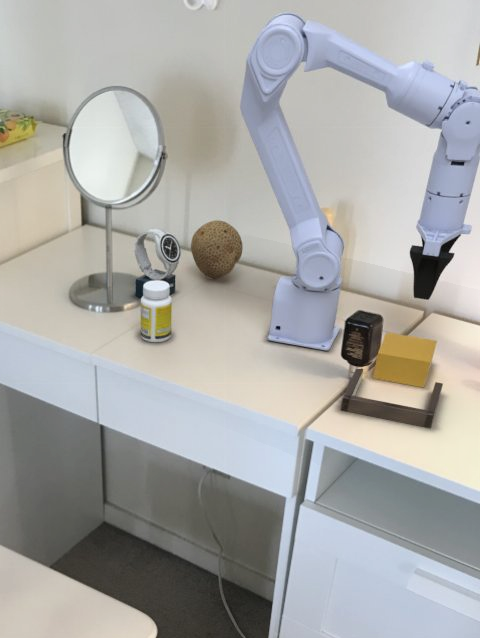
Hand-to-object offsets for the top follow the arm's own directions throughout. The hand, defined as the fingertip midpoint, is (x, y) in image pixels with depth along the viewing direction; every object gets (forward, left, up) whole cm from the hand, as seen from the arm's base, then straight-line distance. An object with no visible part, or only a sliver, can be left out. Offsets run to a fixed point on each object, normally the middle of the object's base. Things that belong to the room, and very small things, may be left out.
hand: (425, 287), depth 117 cm
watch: (-43, +4, -10) cm, 44 cm away
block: (0, -8, -9) cm, 13 cm away
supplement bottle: (-37, -11, -10) cm, 40 cm away
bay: (0, -17, -9) cm, 20 cm away
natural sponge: (-36, +15, -10) cm, 40 cm away
